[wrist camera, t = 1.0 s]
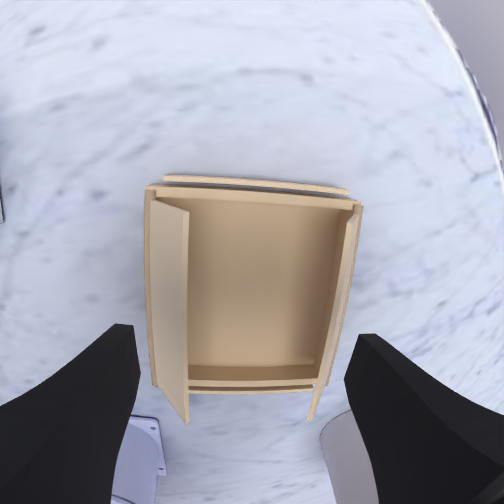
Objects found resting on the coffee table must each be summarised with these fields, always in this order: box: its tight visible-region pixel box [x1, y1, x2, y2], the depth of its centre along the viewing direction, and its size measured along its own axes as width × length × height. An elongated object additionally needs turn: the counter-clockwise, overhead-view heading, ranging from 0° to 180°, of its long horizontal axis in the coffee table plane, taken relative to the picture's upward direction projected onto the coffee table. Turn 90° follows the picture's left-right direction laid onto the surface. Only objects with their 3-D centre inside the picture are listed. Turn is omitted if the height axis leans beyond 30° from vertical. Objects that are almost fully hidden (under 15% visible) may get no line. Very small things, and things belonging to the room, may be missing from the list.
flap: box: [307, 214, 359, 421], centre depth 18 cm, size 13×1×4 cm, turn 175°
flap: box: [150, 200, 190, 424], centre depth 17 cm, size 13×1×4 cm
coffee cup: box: [320, 410, 379, 504], centre depth 21 cm, size 10×10×15 cm
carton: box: [144, 175, 363, 394], centre depth 21 cm, size 15×13×3 cm
